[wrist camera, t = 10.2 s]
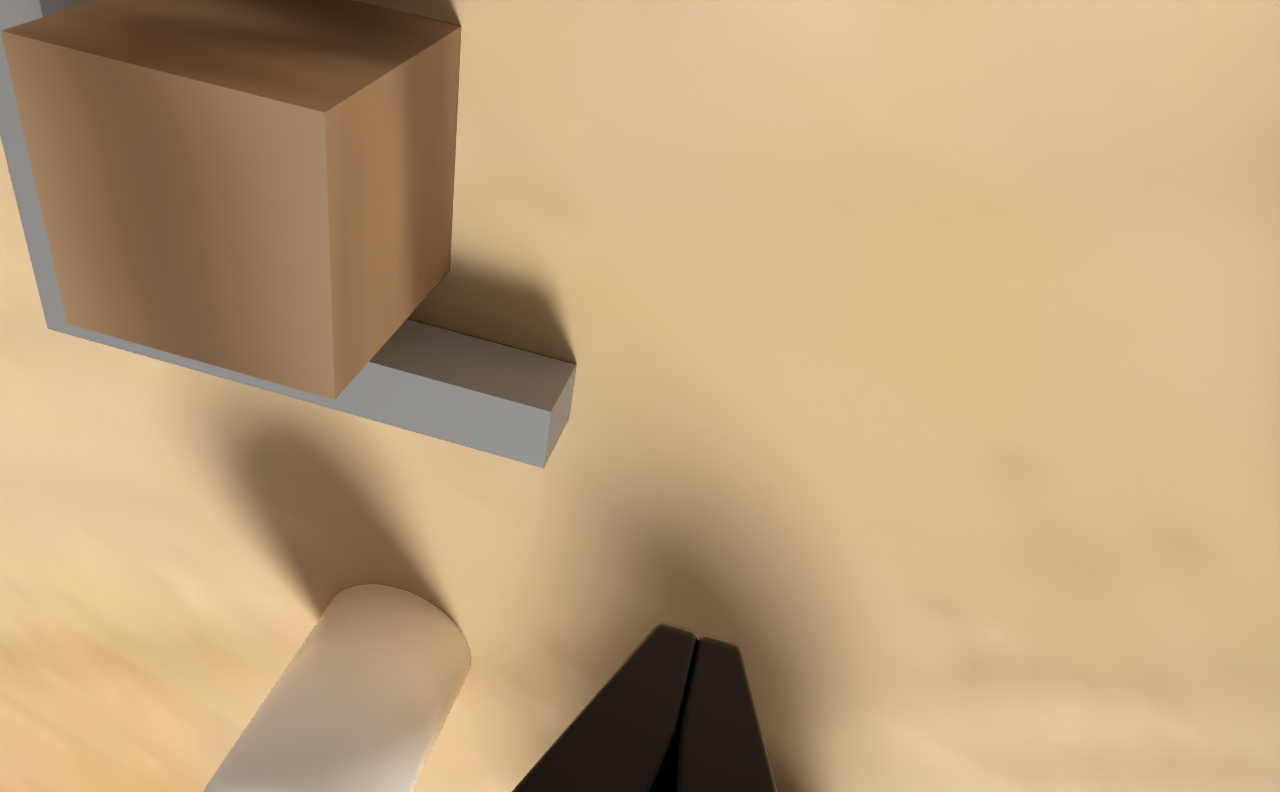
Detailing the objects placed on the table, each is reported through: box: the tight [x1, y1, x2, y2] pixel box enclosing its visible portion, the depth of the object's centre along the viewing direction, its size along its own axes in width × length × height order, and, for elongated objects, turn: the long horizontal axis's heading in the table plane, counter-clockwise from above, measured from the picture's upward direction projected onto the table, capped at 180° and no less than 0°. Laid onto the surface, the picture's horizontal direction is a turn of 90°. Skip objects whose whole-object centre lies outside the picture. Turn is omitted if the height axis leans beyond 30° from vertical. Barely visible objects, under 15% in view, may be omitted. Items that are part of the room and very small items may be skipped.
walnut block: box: [1, 0, 461, 400], centre depth 17 cm, size 5×5×5 cm
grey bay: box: [0, 0, 576, 468], centre depth 18 cm, size 12×11×2 cm
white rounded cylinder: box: [204, 584, 471, 792], centre depth 25 cm, size 4×4×6 cm
